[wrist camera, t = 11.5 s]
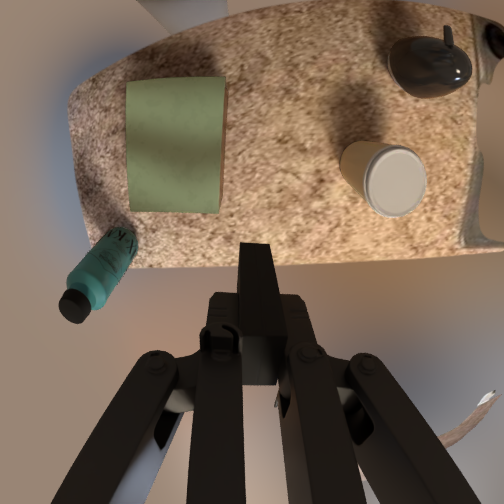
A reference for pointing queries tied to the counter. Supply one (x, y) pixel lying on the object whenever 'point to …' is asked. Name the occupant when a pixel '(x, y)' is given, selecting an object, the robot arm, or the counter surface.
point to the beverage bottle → (98, 274)
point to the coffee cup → (385, 176)
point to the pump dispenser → (429, 65)
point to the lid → (174, 144)
